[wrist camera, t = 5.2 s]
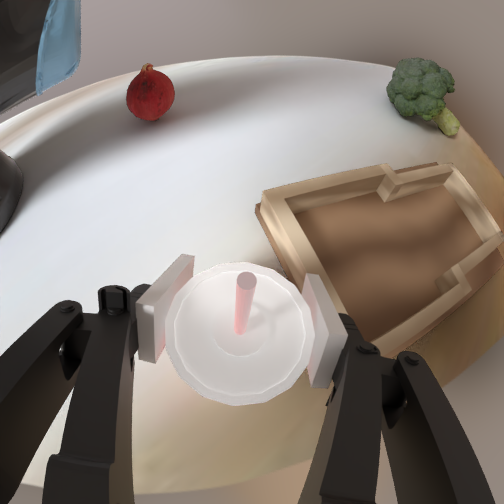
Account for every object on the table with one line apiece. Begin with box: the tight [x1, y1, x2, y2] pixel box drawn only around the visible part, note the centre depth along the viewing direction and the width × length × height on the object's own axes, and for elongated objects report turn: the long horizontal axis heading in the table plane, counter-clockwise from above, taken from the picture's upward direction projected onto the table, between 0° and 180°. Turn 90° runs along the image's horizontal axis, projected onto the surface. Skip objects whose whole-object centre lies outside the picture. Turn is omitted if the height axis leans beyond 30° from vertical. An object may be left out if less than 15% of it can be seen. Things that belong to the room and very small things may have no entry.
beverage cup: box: [165, 262, 315, 406], centre depth 13 cm, size 6×6×14 cm
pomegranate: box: [126, 63, 175, 121], centre depth 28 cm, size 6×6×8 cm
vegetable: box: [386, 58, 460, 136], centre depth 34 cm, size 12×13×15 cm
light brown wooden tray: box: [255, 162, 504, 359], centre depth 23 cm, size 16×26×4 cm, turn 112°
